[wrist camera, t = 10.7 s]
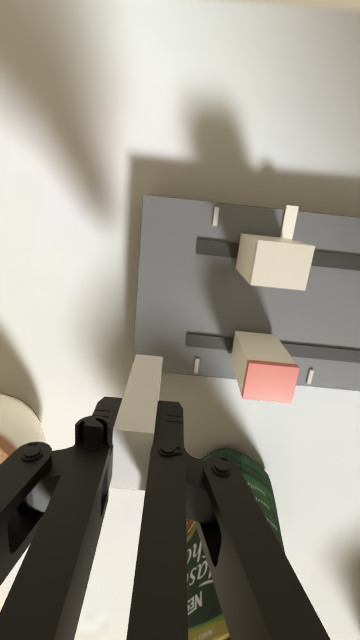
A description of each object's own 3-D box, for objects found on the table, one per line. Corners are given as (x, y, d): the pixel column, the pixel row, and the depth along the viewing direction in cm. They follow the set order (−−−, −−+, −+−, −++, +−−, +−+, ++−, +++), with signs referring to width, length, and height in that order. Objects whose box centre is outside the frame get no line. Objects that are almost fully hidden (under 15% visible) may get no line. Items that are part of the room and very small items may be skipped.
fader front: (284, 237, 22) (315, 245, 17) (277, 272, 23) (305, 290, 18) (241, 233, 22) (258, 240, 17) (235, 268, 23) (250, 285, 18)
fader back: (275, 334, 25) (299, 367, 19) (269, 363, 25) (291, 403, 20) (235, 330, 25) (249, 362, 19) (230, 359, 25) (242, 398, 20)
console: (511, 231, 25) (555, 233, 22) (448, 386, 30) (478, 406, 27) (148, 192, 25) (143, 189, 22) (137, 356, 29) (131, 374, 26)
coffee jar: (220, 431, 31) (266, 714, 14) (280, 474, 33) (391, 777, 15) (158, 493, 34) (129, 799, 16) (216, 530, 35) (249, 847, 18)
